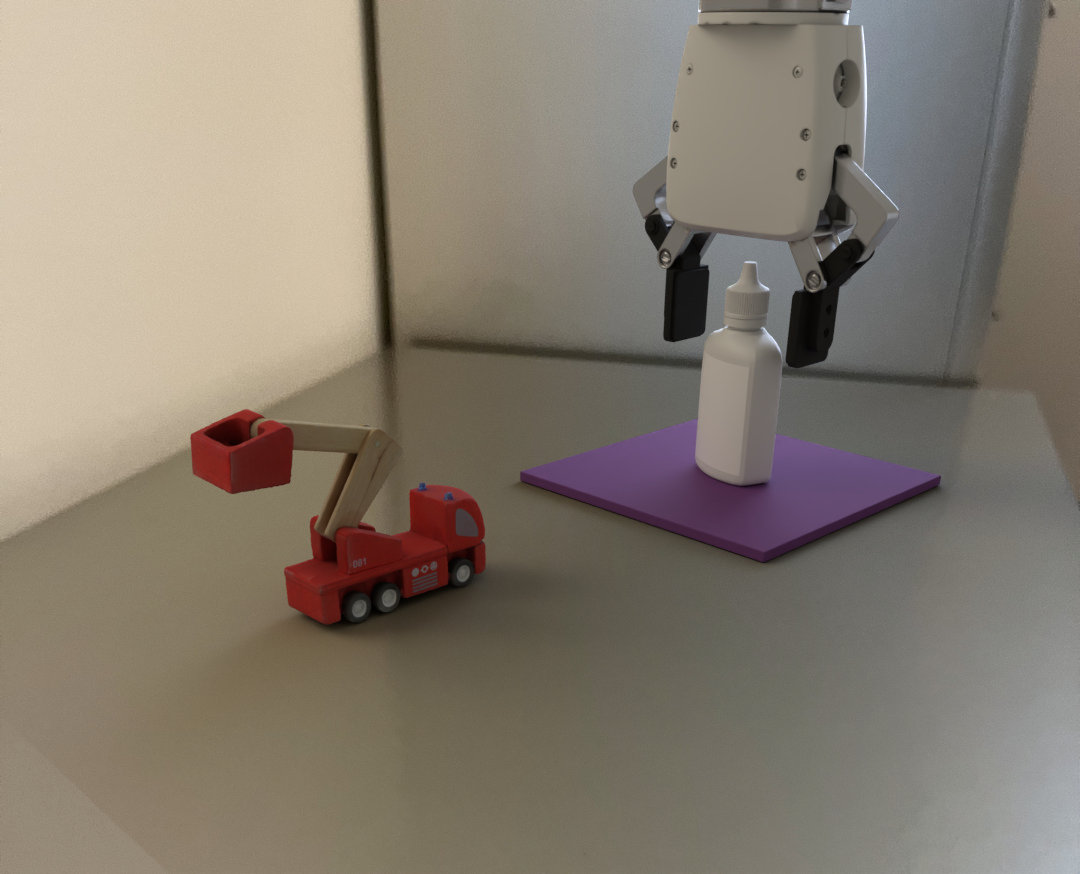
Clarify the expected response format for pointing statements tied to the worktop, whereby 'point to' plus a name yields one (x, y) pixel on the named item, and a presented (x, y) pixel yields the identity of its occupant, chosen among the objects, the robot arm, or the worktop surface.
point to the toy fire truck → (348, 514)
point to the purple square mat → (732, 490)
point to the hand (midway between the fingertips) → (742, 349)
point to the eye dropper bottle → (740, 388)
